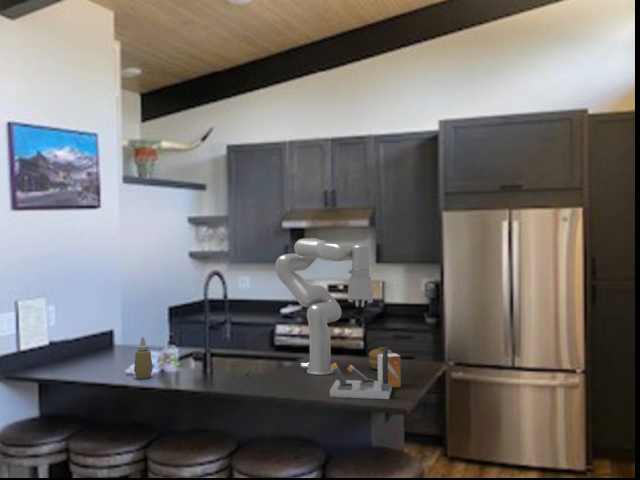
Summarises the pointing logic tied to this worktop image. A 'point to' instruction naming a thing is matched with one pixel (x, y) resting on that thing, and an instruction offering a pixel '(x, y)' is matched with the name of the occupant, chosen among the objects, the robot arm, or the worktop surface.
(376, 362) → the pot
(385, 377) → the post
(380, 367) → the small box
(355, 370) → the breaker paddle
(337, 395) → the panel
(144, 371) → the squeeze bottle
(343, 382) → the orange tipped lever
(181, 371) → the worktop surface
